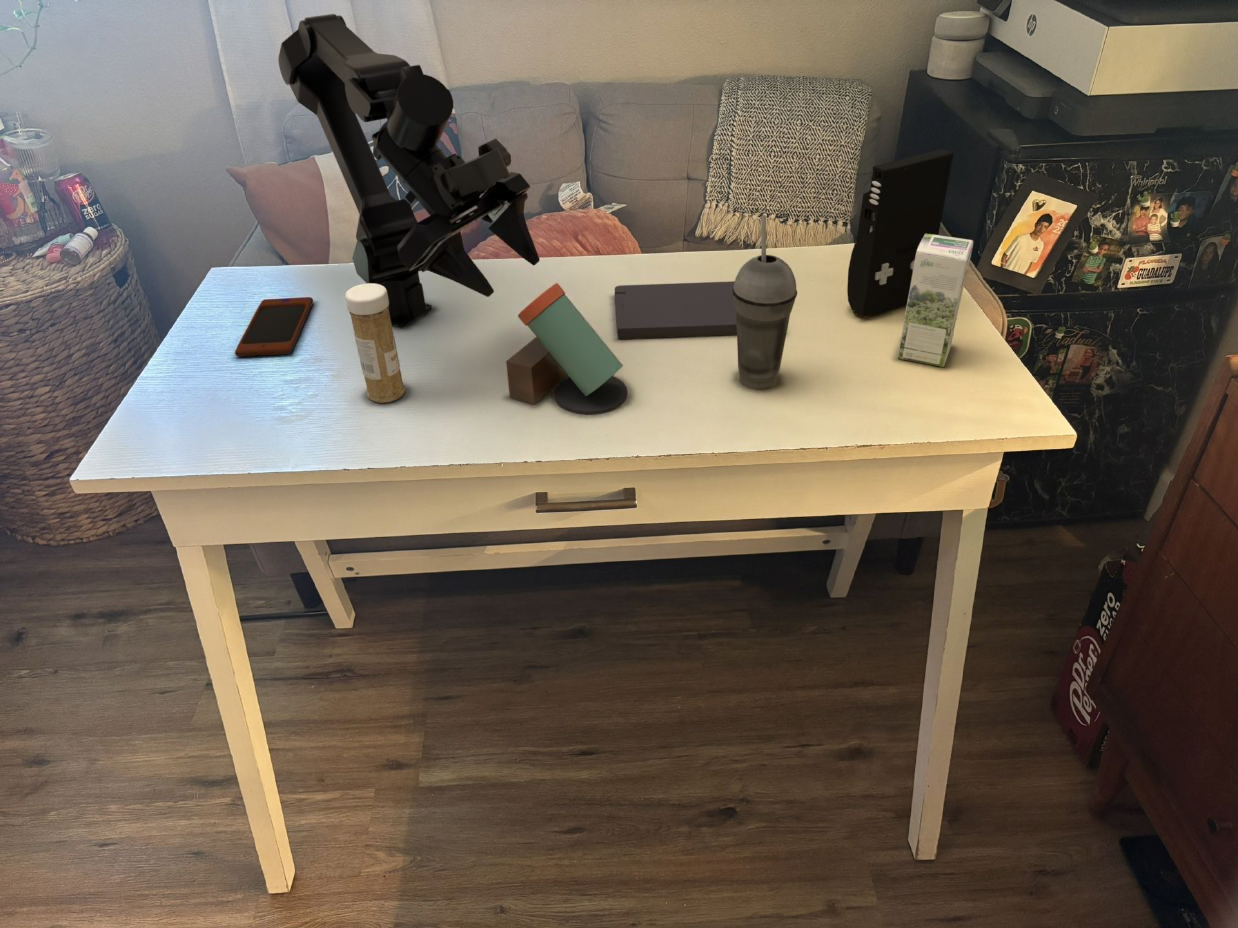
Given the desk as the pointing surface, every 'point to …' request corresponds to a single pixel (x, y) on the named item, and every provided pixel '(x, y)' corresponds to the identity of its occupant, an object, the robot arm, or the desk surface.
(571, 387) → the coaster
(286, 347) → the smartphone
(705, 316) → the notebook
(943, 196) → the handheld gaming console
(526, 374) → the block
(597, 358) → the container
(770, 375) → the beverage cup
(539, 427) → the desk surface
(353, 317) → the sprinkles bottle
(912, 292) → the syrup box
